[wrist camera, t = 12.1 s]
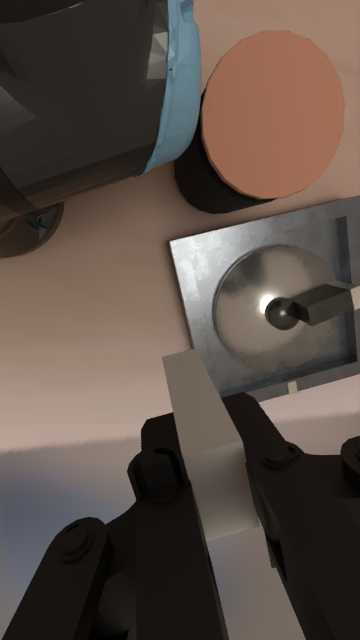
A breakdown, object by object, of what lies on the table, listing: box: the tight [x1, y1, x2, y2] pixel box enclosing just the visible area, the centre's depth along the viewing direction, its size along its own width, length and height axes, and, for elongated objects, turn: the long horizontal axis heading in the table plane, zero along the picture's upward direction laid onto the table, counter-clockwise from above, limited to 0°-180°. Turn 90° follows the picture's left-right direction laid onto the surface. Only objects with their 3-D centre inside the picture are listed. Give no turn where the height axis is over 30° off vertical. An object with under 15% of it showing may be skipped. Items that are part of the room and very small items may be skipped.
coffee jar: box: [174, 31, 345, 214], centre depth 31 cm, size 11×11×18 cm
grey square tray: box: [167, 196, 360, 402], centre depth 43 cm, size 24×24×5 cm
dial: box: [214, 245, 360, 372], centre depth 40 cm, size 17×17×6 cm
